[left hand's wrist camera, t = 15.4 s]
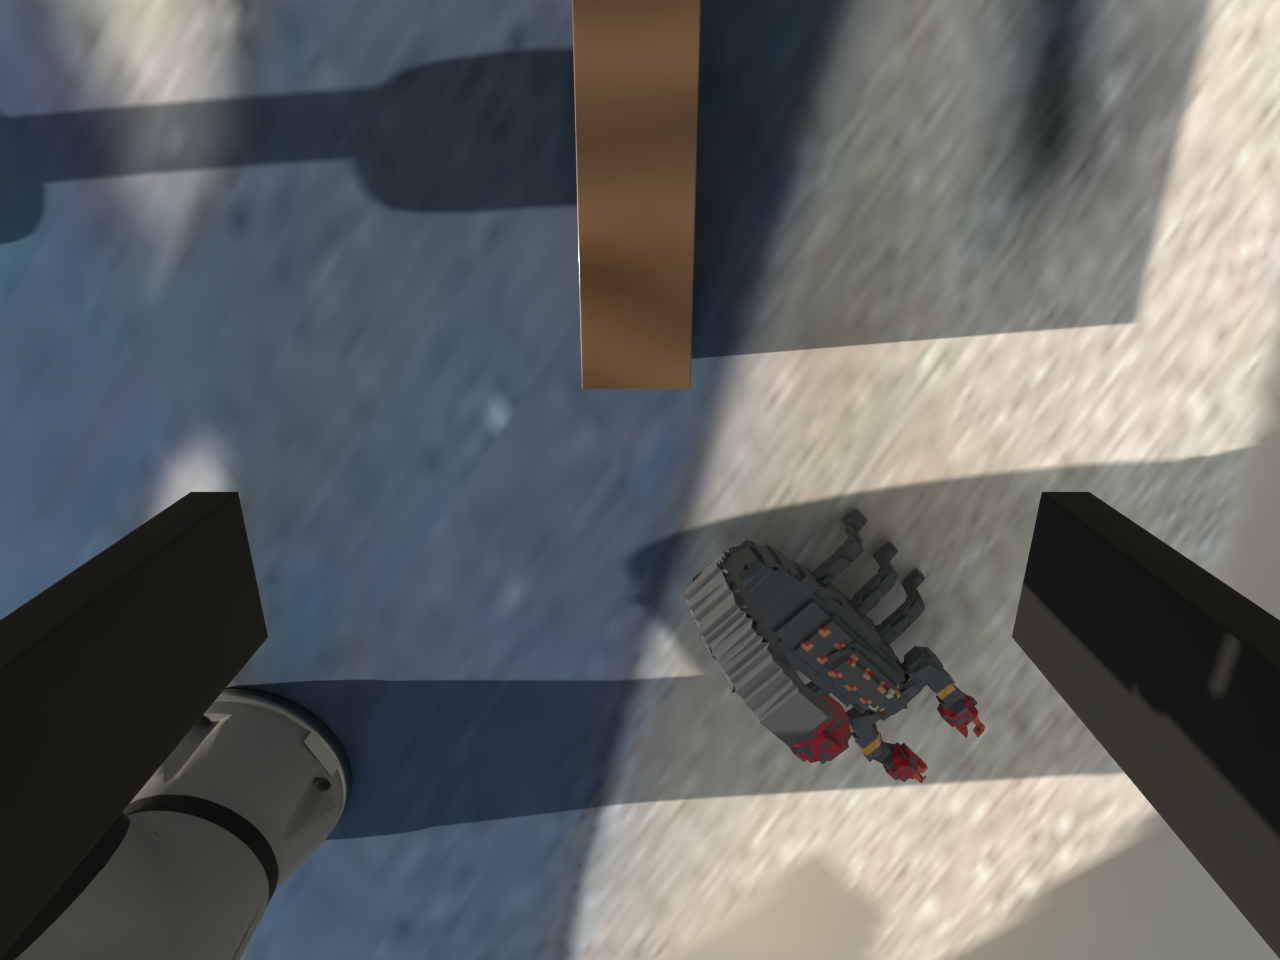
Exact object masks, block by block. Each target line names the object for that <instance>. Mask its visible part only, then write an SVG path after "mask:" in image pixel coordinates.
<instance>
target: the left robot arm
mask: <svg viewBox="0 0 1280 960" xmlns="http://www.w3.org/2000/svg"><path fill="white" fill-rule="evenodd" d="M267 637H268V635H267V630H266V625H265V621H264V616H263V611H262V606H261V601H260V596H259V592H258V587H257V582H256V577H255V572H254V567H253V562H252V558H251V553H250V548H249V543H248V538H247V533H246V528H245V524H244V519H243V514H242V509H241V504H240V499H239V495H238V492H190V493H189V494H187V495H186V496H184V497H183V498H181V499H180V500H178V501H177V502H175V503H174V504H173V505H171V506H170V507H168V508H167V509H165V510H164V511H162V512H161V513H159V514H158V515H156V516H155V517H153V518H152V519H150V520H149V521H147V522H146V523H144V524H143V525H141V526H140V527H138V528H137V529H135V530H134V531H132V532H131V533H129V534H128V535H126V536H125V537H124V538H122V539H121V540H119V541H118V542H116V543H115V544H113V545H112V546H110V547H109V548H107V549H106V550H104V551H103V552H101V553H100V554H98V555H97V556H95V557H94V558H92V559H91V560H89V561H88V562H86V563H85V564H83V565H82V566H80V567H79V568H77V569H76V570H75V571H73V572H72V573H70V574H69V575H67V576H66V577H64V578H63V579H61V580H60V581H58V582H57V583H55V584H54V585H52V586H51V587H49V588H48V589H46V590H45V591H43V592H42V593H40V594H39V595H37V596H36V597H34V598H33V599H31V600H30V601H28V602H27V603H25V604H24V605H23V606H21V607H20V608H18V609H17V610H15V611H14V612H12V613H11V614H9V615H8V616H6V617H5V618H3V619H2V620H0V960H240V958H241V956H242V954H243V952H244V950H245V948H246V946H247V945H248V943H249V941H250V939H251V937H252V935H253V933H254V931H255V929H256V927H257V925H258V923H259V921H260V919H261V917H262V915H263V913H264V911H265V909H266V907H267V905H268V903H269V901H270V899H271V897H272V896H273V894H274V892H275V890H276V888H277V887H278V886H279V885H280V884H281V883H282V882H283V881H284V880H285V879H286V878H287V877H288V876H289V875H290V874H291V873H292V872H293V871H294V870H295V869H296V868H297V867H298V866H299V865H300V864H301V863H303V862H304V861H305V860H306V859H307V858H308V857H309V856H310V855H311V854H312V853H313V852H314V851H315V850H316V849H317V848H318V847H319V846H320V845H321V844H322V843H323V842H324V841H325V840H326V838H327V837H328V836H329V834H330V833H331V832H332V830H333V829H334V828H335V826H336V825H337V823H338V821H339V819H340V817H341V815H342V813H343V810H344V808H345V806H346V804H347V801H348V799H349V795H350V790H351V774H350V769H349V765H348V761H347V758H346V756H345V754H344V751H343V750H342V748H341V746H340V744H339V743H338V741H337V740H336V739H335V737H334V736H333V735H332V733H331V732H330V731H329V730H328V729H327V728H326V727H325V726H324V725H323V724H322V723H321V722H320V721H319V720H317V719H316V718H315V717H314V716H312V715H311V714H310V713H308V712H307V711H305V710H304V709H302V708H300V707H298V706H297V705H295V704H293V703H291V702H289V701H287V700H284V699H282V698H279V697H276V696H273V695H270V694H267V693H262V692H258V691H252V690H245V689H225V688H226V687H227V686H228V684H229V683H230V682H231V681H232V680H233V678H234V677H235V676H236V675H237V674H238V672H239V671H240V670H241V669H242V668H243V666H244V665H245V664H246V663H247V662H248V660H249V659H250V658H251V657H252V656H253V654H254V653H255V652H256V651H257V650H258V648H259V647H260V646H261V645H262V644H263V642H264V641H265V640H266V639H267ZM1012 638H1013V639H1014V640H1015V641H1016V642H1017V644H1018V645H1019V646H1020V647H1021V648H1022V650H1023V651H1024V652H1025V653H1026V654H1027V656H1028V657H1029V658H1030V659H1031V660H1032V662H1033V663H1034V664H1035V665H1036V666H1037V668H1038V669H1039V670H1040V671H1041V672H1042V674H1043V675H1044V676H1045V677H1046V678H1047V680H1048V681H1049V682H1050V683H1051V684H1052V686H1053V687H1054V688H1055V689H1056V690H1057V692H1058V693H1059V694H1060V695H1061V696H1062V698H1063V699H1064V700H1065V701H1066V702H1067V704H1068V705H1069V706H1070V707H1071V708H1072V710H1073V711H1074V712H1075V713H1076V714H1077V716H1078V717H1079V718H1080V719H1081V720H1082V722H1083V723H1084V724H1085V725H1086V726H1087V728H1088V729H1089V730H1090V731H1091V732H1092V734H1093V735H1094V736H1095V737H1096V738H1097V740H1098V741H1099V742H1100V743H1101V744H1102V746H1103V747H1104V748H1105V749H1106V750H1107V752H1108V753H1109V754H1110V755H1111V757H1112V758H1113V759H1114V760H1115V761H1116V763H1117V764H1118V765H1119V766H1120V767H1121V769H1122V770H1123V771H1124V772H1125V773H1126V775H1127V776H1128V777H1129V778H1130V779H1131V781H1132V782H1133V783H1134V784H1135V785H1136V787H1137V788H1138V789H1139V790H1140V791H1141V793H1142V794H1143V795H1144V796H1145V797H1146V799H1147V800H1148V801H1149V802H1150V803H1151V805H1152V806H1153V807H1154V808H1155V809H1156V811H1157V812H1158V813H1159V814H1160V815H1161V817H1162V818H1163V819H1164V820H1165V821H1166V823H1167V824H1168V825H1169V826H1170V827H1171V829H1172V830H1173V831H1174V832H1175V833H1176V835H1177V836H1178V837H1179V838H1180V839H1181V841H1182V842H1183V843H1184V844H1185V845H1186V847H1187V848H1188V849H1189V850H1190V851H1191V853H1192V854H1193V855H1194V856H1195V857H1196V859H1197V860H1198V861H1199V862H1200V863H1201V865H1202V866H1203V867H1204V868H1205V869H1206V871H1207V872H1208V873H1209V874H1210V875H1211V877H1212V878H1213V879H1214V880H1215V882H1216V883H1217V884H1218V885H1219V886H1220V888H1221V889H1222V890H1223V891H1224V892H1225V894H1226V895H1227V896H1228V897H1229V898H1230V900H1231V901H1232V902H1233V903H1234V904H1235V906H1236V907H1237V908H1238V909H1239V910H1240V912H1241V913H1242V914H1243V915H1244V916H1245V918H1246V919H1247V920H1248V921H1249V922H1250V924H1251V925H1252V926H1253V927H1254V928H1255V930H1256V931H1257V932H1258V933H1259V934H1260V936H1261V937H1262V938H1263V939H1264V940H1265V942H1266V943H1267V944H1268V945H1269V946H1270V948H1271V949H1272V950H1273V951H1274V952H1275V954H1276V955H1277V956H1278V957H1279V958H1280V620H1278V619H1277V618H1275V617H1274V616H1272V615H1271V614H1269V613H1268V612H1266V611H1265V610H1263V609H1262V608H1260V607H1259V606H1257V605H1256V604H1255V603H1253V602H1252V601H1250V600H1249V599H1247V598H1246V597H1244V596H1243V595H1241V594H1240V593H1238V592H1237V591H1235V590H1234V589H1232V588H1231V587H1229V586H1228V585H1226V584H1225V583H1223V582H1222V581H1220V580H1219V579H1217V578H1216V577H1214V576H1213V575H1211V574H1210V573H1208V572H1207V571H1205V570H1204V569H1203V568H1201V567H1200V566H1198V565H1197V564H1195V563H1194V562H1192V561H1191V560H1189V559H1188V558H1186V557H1185V556H1183V555H1182V554H1180V553H1179V552H1177V551H1176V550H1174V549H1173V548H1171V547H1170V546H1168V545H1167V544H1165V543H1164V542H1162V541H1161V540H1159V539H1158V538H1156V537H1155V536H1154V535H1152V534H1151V533H1149V532H1148V531H1146V530H1145V529H1143V528H1142V527H1140V526H1139V525H1137V524H1136V523H1134V522H1133V521H1131V520H1130V519H1128V518H1127V517H1125V516H1124V515H1122V514H1121V513H1119V512H1118V511H1116V510H1115V509H1113V508H1112V507H1110V506H1109V505H1107V504H1106V503H1105V502H1103V501H1102V500H1100V499H1099V498H1097V497H1096V496H1094V495H1093V494H1091V493H1090V492H1042V495H1041V499H1040V504H1039V509H1038V514H1037V519H1036V524H1035V528H1034V533H1033V538H1032V543H1031V548H1030V553H1029V558H1028V562H1027V567H1026V572H1025V577H1024V582H1023V587H1022V591H1021V596H1020V601H1019V606H1018V611H1017V616H1016V621H1015V625H1014V630H1013V635H1012Z"/></svg>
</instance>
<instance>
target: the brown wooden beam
mask: <svg viewBox="0 0 1280 960" xmlns="http://www.w3.org/2000/svg"><path fill="white" fill-rule="evenodd" d="M700 18H701V0H572V19H573V58H574V97H575V136H576V175H577V214H578V254H579V293H580V332H581V371H582V389H690V386H691V349H692V313H693V276H694V239H695V202H696V165H697V129H698V92H699V55H700Z"/></svg>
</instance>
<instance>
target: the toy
mask: <svg viewBox="0 0 1280 960" xmlns="http://www.w3.org/2000/svg"><path fill="white" fill-rule="evenodd" d="M843 521H844V522H845V523H846V524H847V527H846V528H845V532H846V534H847V536H848V538H849V539H848V540H847V541H846V542H845V543H844V544H843V545H842V546H841V547H839V548H838V549H837V550H836V552H835V553H834V554H833V555H832V556H831V557H830V558H829V559H827V560H826V561H825V562H824V563H823V564H822V565H820V566H819V567H818V568H817V569H816V570H815V572H814V573H813V572H811V571H810V570H808V569H807V568H805V567H803V566H801V565H799V564H797V563H795V562H793V561H791V560H789V559H788V558H787V557H785V556H784V555H783V554H781V553H780V552H778V551H777V550H775V549H773V548H772V547H770V546H768V545H766V546H765V547H760V546H758V545H757V544H756V543H754V542H752V541H749V540H746V541H745V542H744V543H743V544H742V545H740V546H738V547H736V548H735V547H732V548H730V549H728V550H727V551H725V552H722V553H721V554H720V555H719V556H718V557H717V558H716V559H715V560H714V561H712V562H711V563H710V564H709V565H708V566H707V567H706V568H705V569H703V570H702V571H701V572H700V573H699V574H698V575H697V576H696V577H695V578H693V583H692V584H690V585H689V586H688V587H687V588H686V589H685V590H684V594H685V597H686V600H687V604H688V608H689V610H690V612H691V614H692V616H693V618H694V620H695V622H696V624H697V627H698V629H699V631H700V636H701V642H702V643H703V645H704V646H705V647H706V649H707V650H708V651H709V653H710V654H711V655H712V657H713V658H714V660H715V662H716V663H717V665H718V666H719V668H720V670H721V671H722V673H723V675H724V677H725V678H726V679H727V681H728V682H729V683H730V687H731V692H732V693H733V692H737V693H738V694H739V695H740V696H741V697H743V698H744V700H745V703H746V704H747V705H748V706H749V707H750V708H751V709H752V710H753V711H754V712H755V713H756V715H757V716H758V717H759V720H760V723H762V724H763V725H764V726H765V727H766V728H767V729H769V730H770V731H771V732H772V733H773V734H775V735H776V736H777V737H778V738H779V739H781V740H782V741H783V742H784V743H785V744H787V745H788V746H789V747H790V748H791V750H792V752H793V753H794V754H795V755H796V756H797V757H799V758H800V759H801V760H802V761H806V760H809V761H810V762H811V763H812V762H817V761H820V762H821V763H822V764H823V763H825V762H826V761H827V760H828V761H831V760H833V759H834V758H835V757H837V756H838V755H839V754H841V753H842V752H843V751H844V750H846V749H847V748H848V747H849V745H848V740H849V739H850V737H851V735H853V737H854V738H855V740H856V741H855V742H856V744H857V745H858V747H859V748H860V750H861V751H862V753H863V754H864V756H865V757H866V758H867V759H868V760H869V761H870V762H871V761H872V760H873V759H875V760H876V761H878V762H880V763H882V764H883V766H884V768H885V770H886V772H887V773H888V774H889V775H890V776H891V777H893V778H894V779H895V780H898V779H900V780H902V781H904V782H905V781H906V780H907V779H908V778H911V779H913V778H916V779H917V780H918V781H919V782H921V783H922V781H923V780H924V779H925V777H926V776H925V777H922V776H921V775H920V773H923V772H924V771H925V770H926V769H927V765H926V763H924V762H923V761H922V760H921V759H920V758H919V757H918V756H917V755H916V754H915V753H913V752H912V751H911V750H910V748H909V747H908V746H907V745H906V744H905V743H903V744H902V745H900V744H899V743H898V742H897V743H895V744H890V743H885V742H883V741H882V738H881V734H880V733H879V732H878V731H877V727H876V724H875V722H877V721H878V720H879V719H882V720H883V721H884V720H885V719H886V718H888V717H889V716H891V715H892V714H893V715H894V714H895V713H897V712H898V711H900V710H902V709H903V708H905V709H907V703H908V702H909V701H910V700H911V699H913V698H914V697H915V696H916V695H917V694H918V693H919V692H920V691H921V690H922V689H923V687H924V686H926V685H927V684H928V686H929V687H930V688H931V689H932V690H933V691H934V692H935V693H936V694H937V696H936V697H937V699H938V701H939V702H940V704H939V706H938V708H937V710H938V711H939V713H940V715H941V717H942V718H943V719H944V720H945V721H946V722H948V723H949V724H950V725H951V726H952V727H953V726H955V727H956V728H957V729H958V730H959V731H960V732H961V733H962V734H963V735H964V736H965V737H966V738H967V735H968V731H967V726H966V725H968V724H969V723H970V722H971V721H973V722H974V723H975V724H976V727H975V728H974V729H973V731H974V732H975V734H976V735H977V737H979V736H980V735H981V734H982V733H983V732H984V728H985V726H984V725H983V724H982V723H981V722H980V721H979V719H978V716H977V714H978V711H977V709H976V708H975V707H974V706H975V705H976V704H977V702H976V700H975V699H974V698H973V697H971V696H968V695H966V694H965V693H963V692H961V691H960V690H959V689H958V688H957V687H956V686H955V685H954V683H955V682H954V680H953V679H952V677H951V676H950V675H949V674H948V673H947V672H946V671H945V670H944V669H943V665H942V664H941V662H940V661H939V659H938V658H937V656H936V655H935V654H934V653H933V652H932V651H931V650H930V649H929V648H927V647H918V646H914V647H913V648H912V649H911V650H910V651H909V652H908V653H907V654H906V655H905V656H904V662H903V663H902V664H901V663H900V662H899V660H898V658H897V656H896V655H895V654H894V652H893V650H892V648H891V646H890V643H892V642H893V641H894V640H895V639H896V638H897V637H898V636H899V635H900V634H902V633H903V632H904V631H905V630H906V629H907V628H908V627H909V626H910V625H911V624H912V623H913V622H914V621H915V620H916V619H917V618H918V617H919V616H920V615H921V613H922V612H923V610H924V609H925V606H924V603H923V601H922V598H921V596H920V594H919V592H918V590H917V587H918V586H919V585H920V584H921V583H922V582H923V580H924V579H925V577H924V576H923V574H922V573H921V572H920V571H919V570H918V569H915V570H914V571H913V572H912V573H911V574H910V575H909V576H908V577H907V578H905V579H904V581H903V582H902V586H903V588H904V590H905V592H906V594H907V598H906V601H905V602H904V603H903V604H902V605H901V606H900V607H899V608H898V609H897V610H896V611H895V612H894V613H892V614H891V615H890V616H889V617H888V618H886V619H885V620H884V621H883V622H882V623H881V625H877V626H874V624H873V622H872V620H871V619H869V618H868V617H867V616H866V615H865V613H867V612H868V611H870V610H871V609H872V608H874V607H875V606H876V605H877V603H878V602H879V600H880V598H881V597H882V596H883V595H885V594H886V593H887V592H888V591H889V590H890V589H892V587H893V585H894V584H895V582H896V580H897V579H898V577H899V575H898V574H897V572H896V571H895V569H894V568H893V566H892V565H891V563H890V562H889V561H890V560H891V559H892V558H893V557H894V556H895V554H896V553H897V552H898V550H897V549H896V548H895V546H894V545H893V544H891V543H890V542H889V543H888V544H887V545H885V546H884V547H883V548H882V549H881V550H879V551H878V552H877V553H876V554H875V555H873V556H874V558H875V559H876V561H877V562H878V564H879V566H880V567H881V568H880V569H879V570H877V571H878V574H876V575H875V576H874V577H872V578H871V579H870V580H869V581H868V582H867V583H866V584H865V585H864V586H863V587H862V588H861V589H860V590H859V591H858V592H857V593H856V594H855V595H854V597H853V598H852V600H851V601H850V600H849V599H848V598H847V597H846V596H845V595H844V594H843V593H841V592H840V591H839V590H838V589H837V588H836V587H835V586H834V585H832V584H831V583H830V582H831V581H832V580H833V579H834V578H835V577H836V576H837V575H839V574H840V573H841V572H842V571H843V570H844V569H845V568H846V567H847V566H848V565H850V564H851V563H852V562H853V561H854V560H855V559H856V558H857V557H858V556H859V555H860V554H861V553H862V552H863V551H864V550H865V549H864V548H863V546H862V544H861V542H862V541H863V540H862V539H861V538H860V536H859V533H858V531H859V530H860V529H861V528H862V527H863V526H864V525H865V523H866V522H867V520H866V518H865V517H864V516H863V515H862V514H861V513H860V512H859V511H858V510H857V509H856V510H855V511H854V512H852V513H851V514H850V515H849V516H848V517H847V518H845V519H844V520H843ZM797 668H798V669H799V670H800V671H801V672H802V673H803V674H804V675H805V676H807V677H808V678H809V679H810V680H811V682H810V683H808V684H806V685H805V684H804V683H803V682H802V681H801V680H800V678H799V677H798V675H797V674H796V672H795V671H794V670H795V669H797ZM830 693H832V694H833V695H835V696H836V697H837V698H838V699H839V700H840V701H841V702H843V703H844V704H845V705H846V706H848V705H850V704H851V705H852V706H853V708H852V709H850V710H849V711H847V712H845V711H844V709H843V707H842V706H841V704H839V703H838V702H837V701H836V700H834V699H833V698H832V697H830V696H829V695H828V694H830ZM850 729H852V730H853V733H851V730H850Z"/></svg>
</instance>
